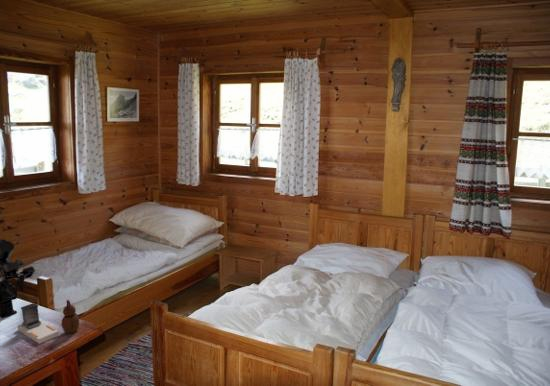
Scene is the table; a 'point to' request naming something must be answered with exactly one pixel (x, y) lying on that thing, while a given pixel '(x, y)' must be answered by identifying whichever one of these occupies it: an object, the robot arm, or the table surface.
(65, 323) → the wooden figurine
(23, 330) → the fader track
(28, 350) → the table surface
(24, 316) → the fader knob
